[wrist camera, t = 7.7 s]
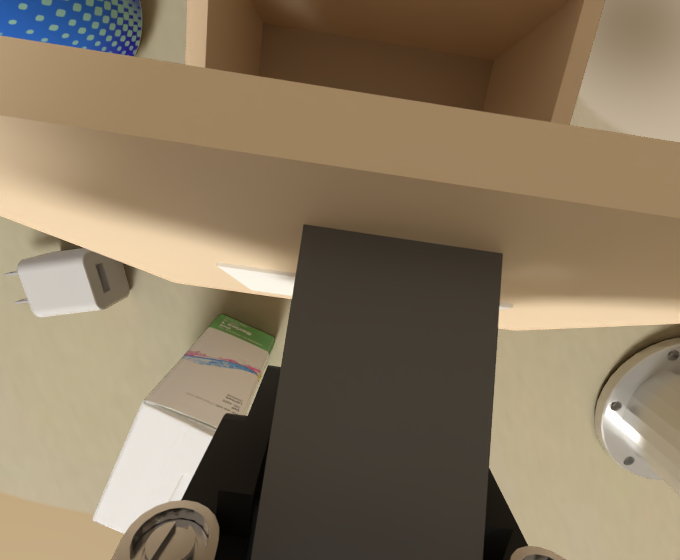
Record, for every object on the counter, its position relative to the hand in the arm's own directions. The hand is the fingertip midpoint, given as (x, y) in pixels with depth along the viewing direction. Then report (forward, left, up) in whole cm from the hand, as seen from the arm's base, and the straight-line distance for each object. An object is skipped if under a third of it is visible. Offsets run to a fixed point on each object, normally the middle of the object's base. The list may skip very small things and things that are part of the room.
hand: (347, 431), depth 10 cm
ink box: (+8, +10, -19) cm, 23 cm away
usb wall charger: (+20, +4, -19) cm, 27 cm away
